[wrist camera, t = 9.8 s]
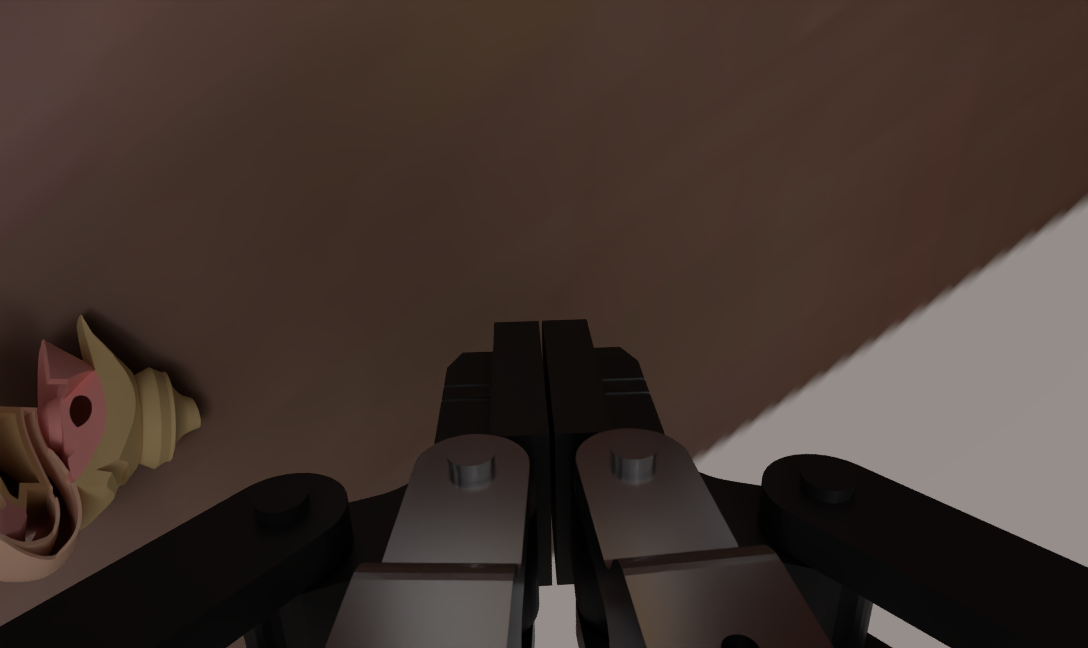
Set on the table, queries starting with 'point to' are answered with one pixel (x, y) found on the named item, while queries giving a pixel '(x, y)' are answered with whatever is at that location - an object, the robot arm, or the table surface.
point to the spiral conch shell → (79, 449)
